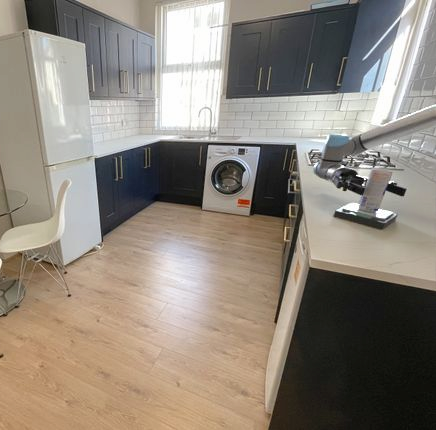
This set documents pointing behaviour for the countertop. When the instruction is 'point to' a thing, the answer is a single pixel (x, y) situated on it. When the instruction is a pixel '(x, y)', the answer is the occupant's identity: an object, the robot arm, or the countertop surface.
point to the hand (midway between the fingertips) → (383, 192)
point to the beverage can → (375, 189)
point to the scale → (366, 216)
